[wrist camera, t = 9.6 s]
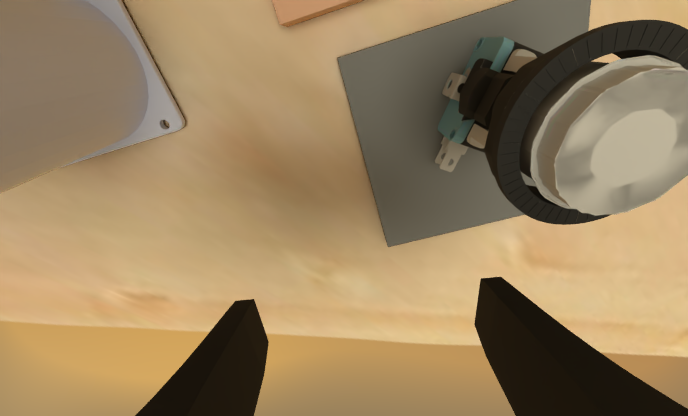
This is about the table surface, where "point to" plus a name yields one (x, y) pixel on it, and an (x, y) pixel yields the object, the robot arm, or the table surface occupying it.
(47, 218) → the table surface
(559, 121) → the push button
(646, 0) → the table surface
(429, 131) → the rubber pad
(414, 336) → the table surface
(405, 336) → the table surface
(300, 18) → the rectangular frame
